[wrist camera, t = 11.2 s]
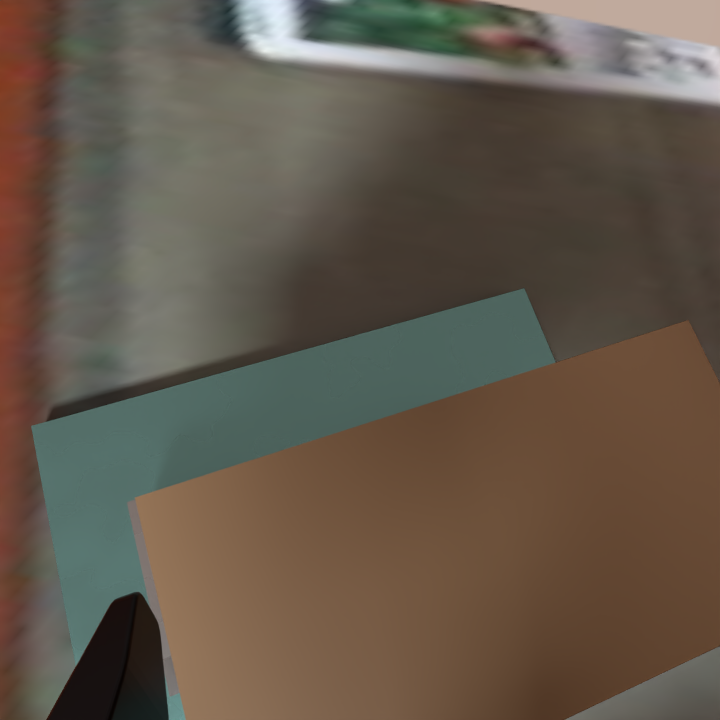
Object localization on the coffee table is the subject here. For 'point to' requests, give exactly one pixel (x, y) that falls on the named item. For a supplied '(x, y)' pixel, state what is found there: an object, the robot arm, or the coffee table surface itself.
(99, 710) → the robot arm
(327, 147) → the coffee table surface
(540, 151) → the coffee table surface
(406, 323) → the teal holder base
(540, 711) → the tan cardboard brick
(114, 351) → the coffee table surface
